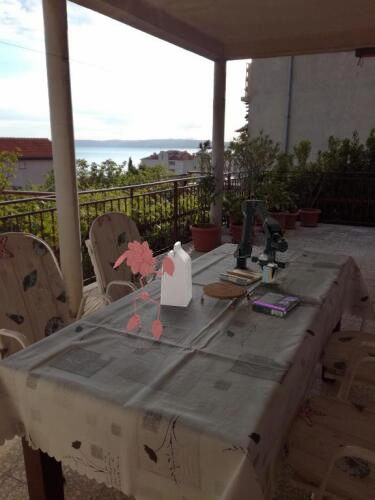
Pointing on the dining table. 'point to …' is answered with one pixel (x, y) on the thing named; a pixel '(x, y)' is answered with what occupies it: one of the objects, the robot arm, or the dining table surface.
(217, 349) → the dining table surface
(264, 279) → the carton
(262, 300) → the box
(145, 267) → the figurine
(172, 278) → the milk
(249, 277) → the shelf
